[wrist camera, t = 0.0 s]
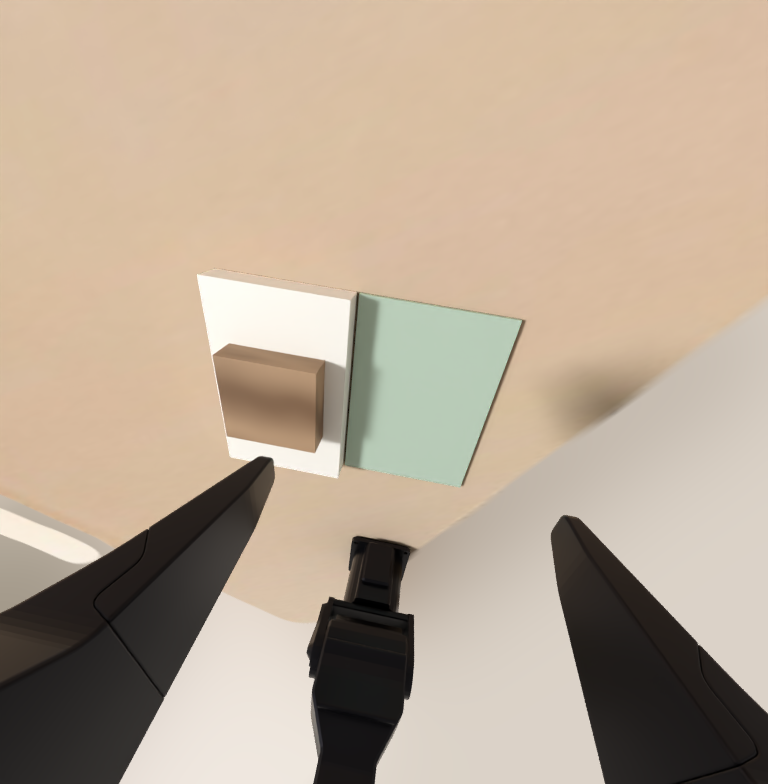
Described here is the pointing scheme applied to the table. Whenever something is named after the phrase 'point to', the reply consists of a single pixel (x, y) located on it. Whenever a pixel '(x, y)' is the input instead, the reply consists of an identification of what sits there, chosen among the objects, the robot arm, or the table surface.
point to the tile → (271, 396)
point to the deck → (287, 349)
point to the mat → (423, 386)
